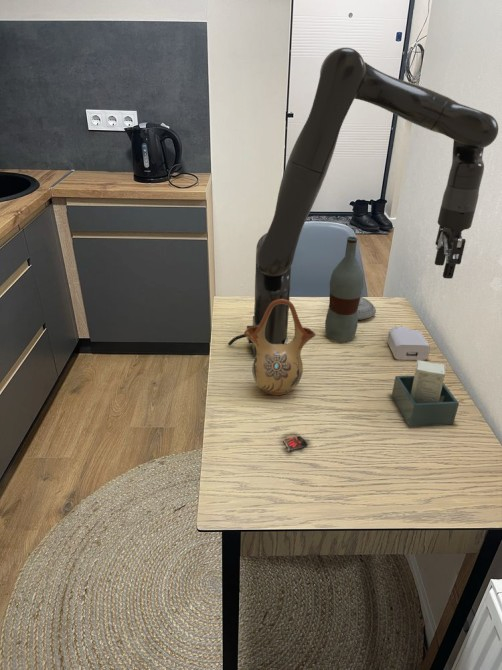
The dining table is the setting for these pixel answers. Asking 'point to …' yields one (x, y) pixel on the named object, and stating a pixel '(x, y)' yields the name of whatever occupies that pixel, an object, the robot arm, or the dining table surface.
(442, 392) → the teal cube shelf
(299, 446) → the matchbox
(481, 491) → the dining table surface
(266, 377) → the ceramic vessel
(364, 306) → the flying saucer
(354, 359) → the dining table surface
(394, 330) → the charger
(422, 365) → the cosmetic box
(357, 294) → the bottle
